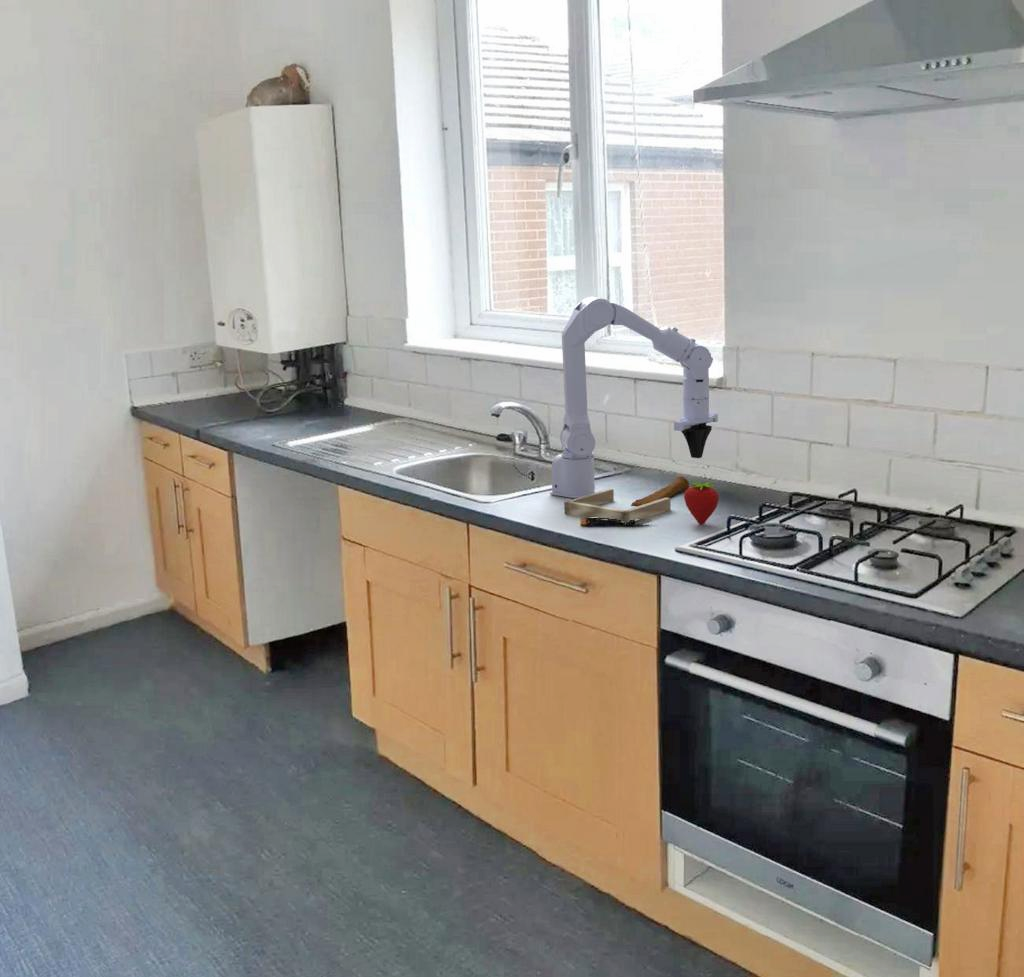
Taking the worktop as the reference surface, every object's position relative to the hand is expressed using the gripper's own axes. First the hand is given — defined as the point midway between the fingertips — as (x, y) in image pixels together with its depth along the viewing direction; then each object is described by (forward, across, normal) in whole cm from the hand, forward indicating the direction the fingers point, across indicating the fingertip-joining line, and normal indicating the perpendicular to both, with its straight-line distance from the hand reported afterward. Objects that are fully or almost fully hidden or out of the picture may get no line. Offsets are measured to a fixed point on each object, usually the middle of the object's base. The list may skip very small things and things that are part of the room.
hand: (696, 457), depth 248 cm
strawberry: (+7, -28, -20) cm, 35 cm away
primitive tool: (+7, -14, -1) cm, 16 cm away
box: (+7, -29, 0) cm, 29 cm away
